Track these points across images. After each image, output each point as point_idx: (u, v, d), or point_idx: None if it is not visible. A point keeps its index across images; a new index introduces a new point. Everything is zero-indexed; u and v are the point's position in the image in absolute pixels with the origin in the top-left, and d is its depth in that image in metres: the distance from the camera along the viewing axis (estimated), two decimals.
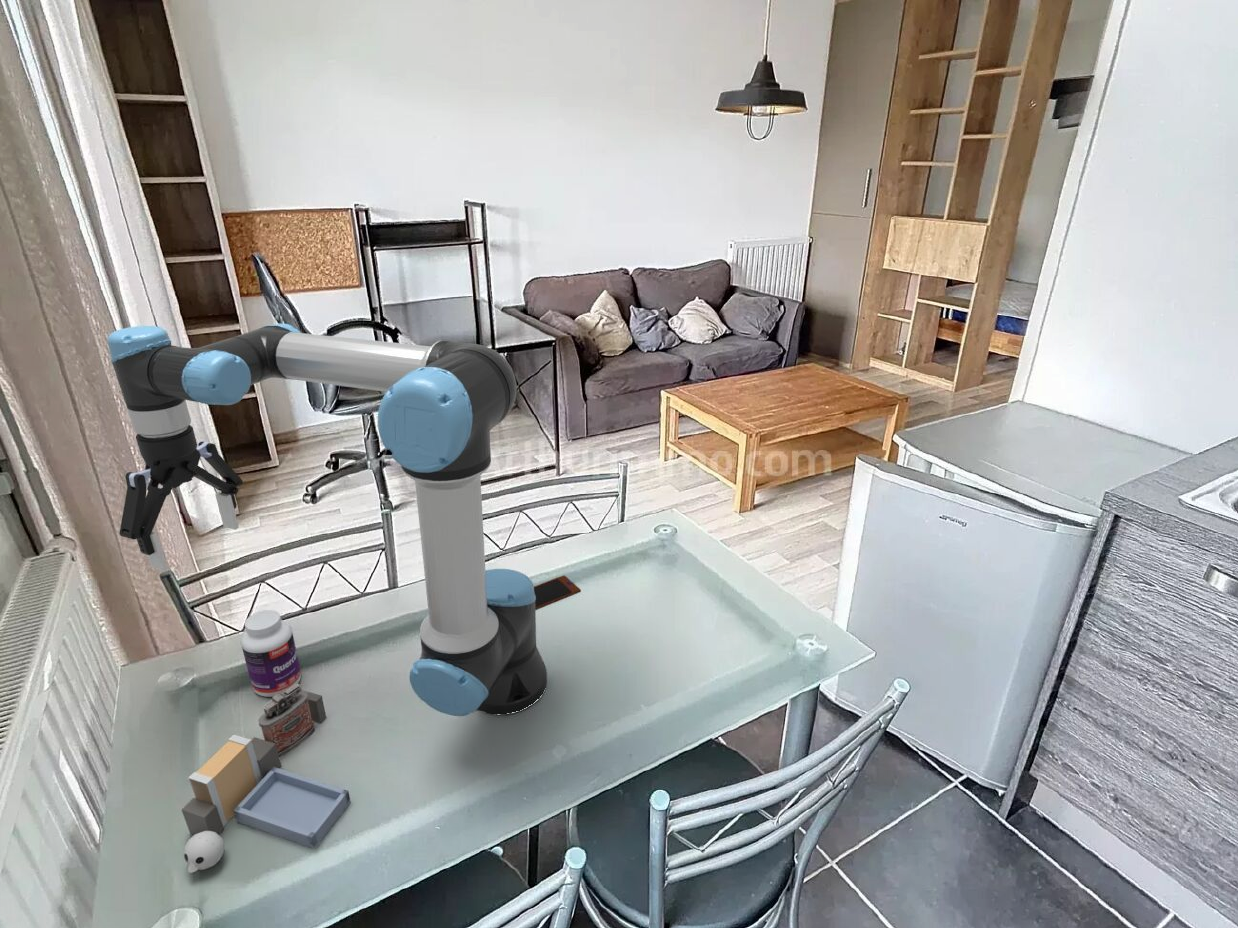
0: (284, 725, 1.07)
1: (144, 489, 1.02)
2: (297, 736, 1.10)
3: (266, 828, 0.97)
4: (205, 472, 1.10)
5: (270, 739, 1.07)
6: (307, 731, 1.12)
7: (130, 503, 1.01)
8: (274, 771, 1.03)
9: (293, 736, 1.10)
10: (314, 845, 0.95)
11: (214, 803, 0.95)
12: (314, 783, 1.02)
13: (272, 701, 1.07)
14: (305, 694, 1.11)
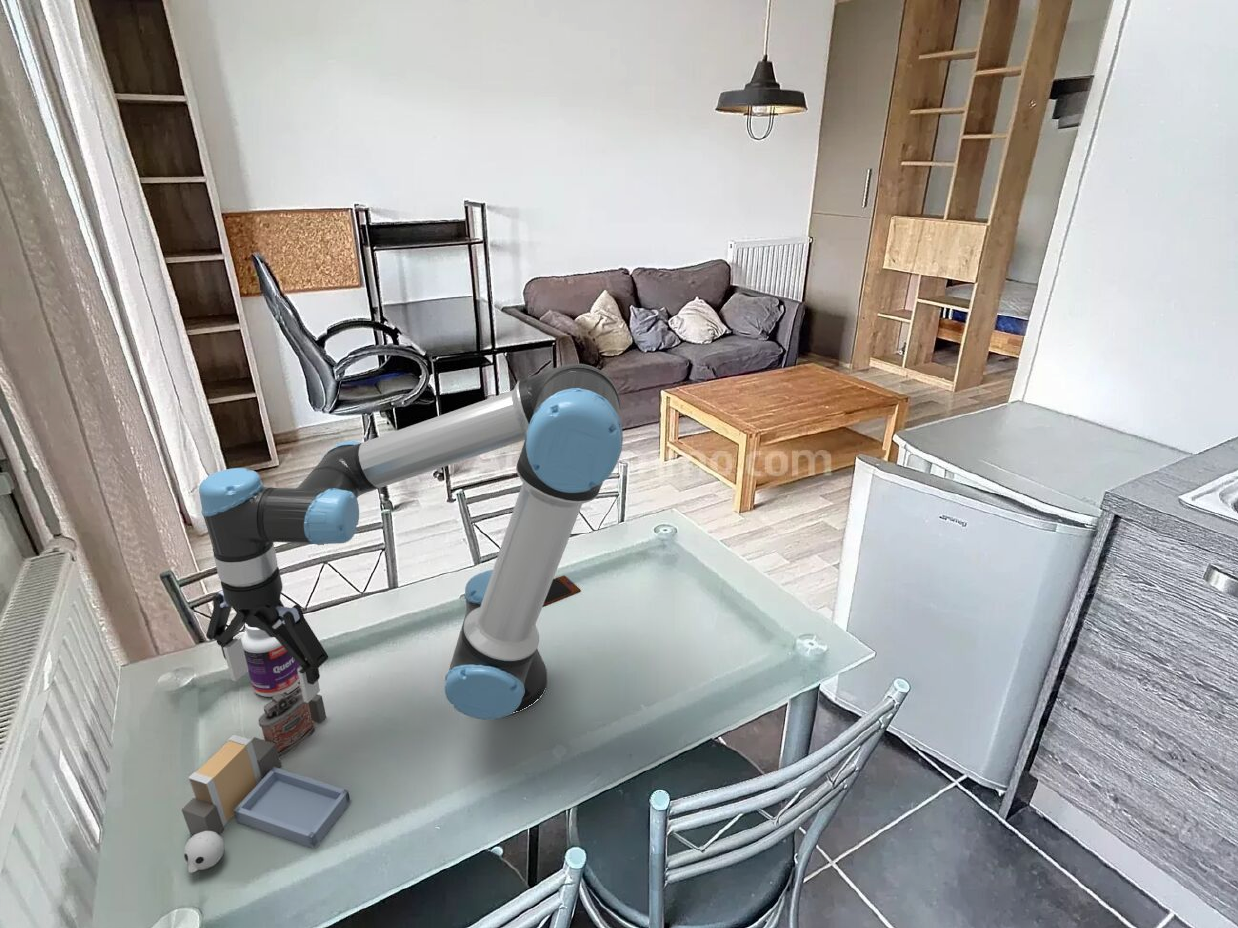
0: (284, 725, 1.07)
1: (218, 609, 1.01)
2: (297, 736, 1.10)
3: (266, 828, 0.97)
4: (272, 633, 0.99)
5: (270, 739, 1.07)
6: (307, 731, 1.12)
7: None
8: (274, 771, 1.03)
9: (293, 736, 1.10)
10: (314, 845, 0.95)
11: (214, 803, 0.95)
12: (314, 783, 1.02)
13: (272, 701, 1.07)
14: None
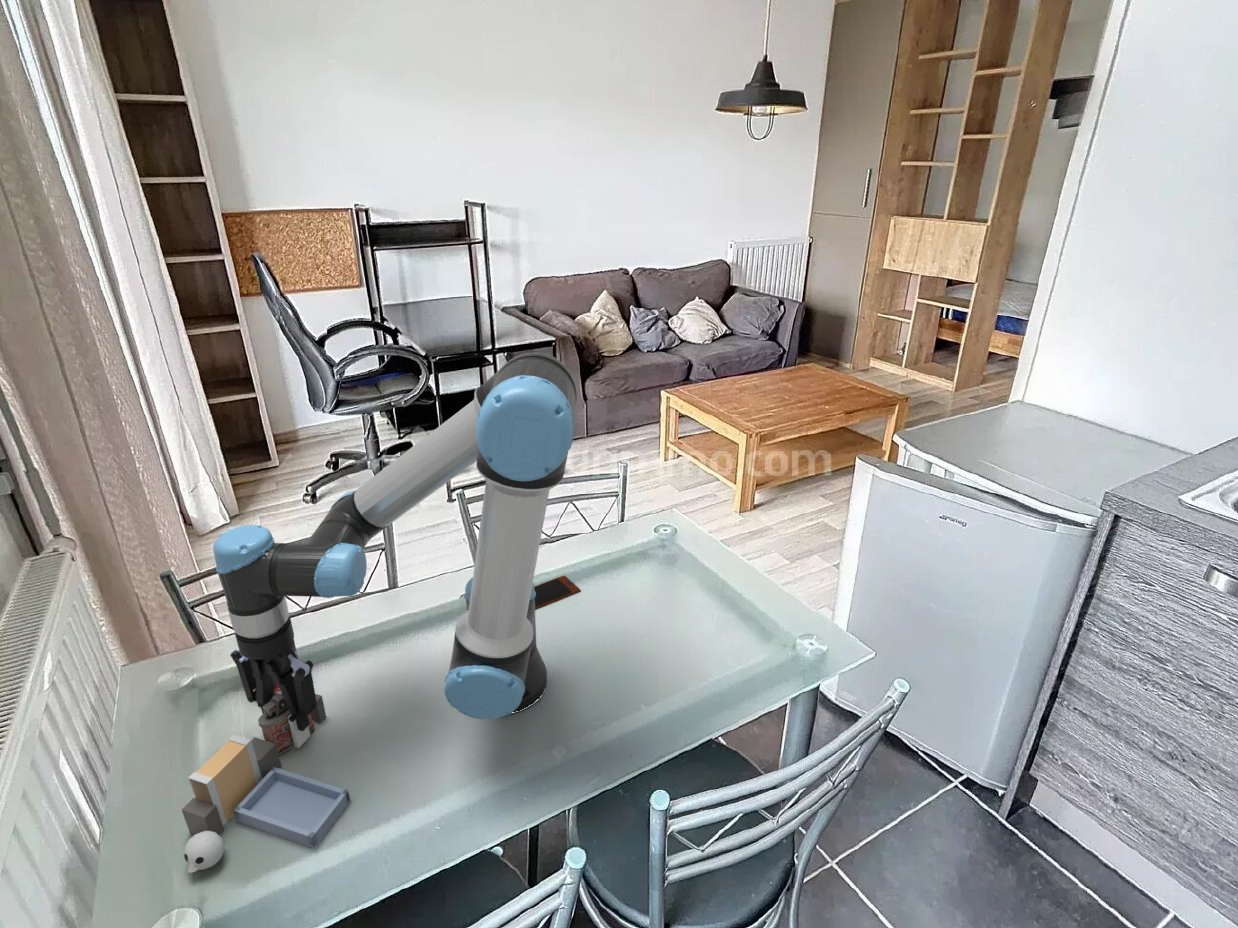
0: (284, 725, 1.07)
1: (240, 665, 1.05)
2: None
3: (266, 828, 0.97)
4: (278, 683, 1.03)
5: (270, 739, 1.07)
6: None
7: None
8: (274, 771, 1.03)
9: None
10: (314, 845, 0.95)
11: (214, 803, 0.95)
12: (314, 783, 1.02)
13: (272, 701, 1.07)
14: None
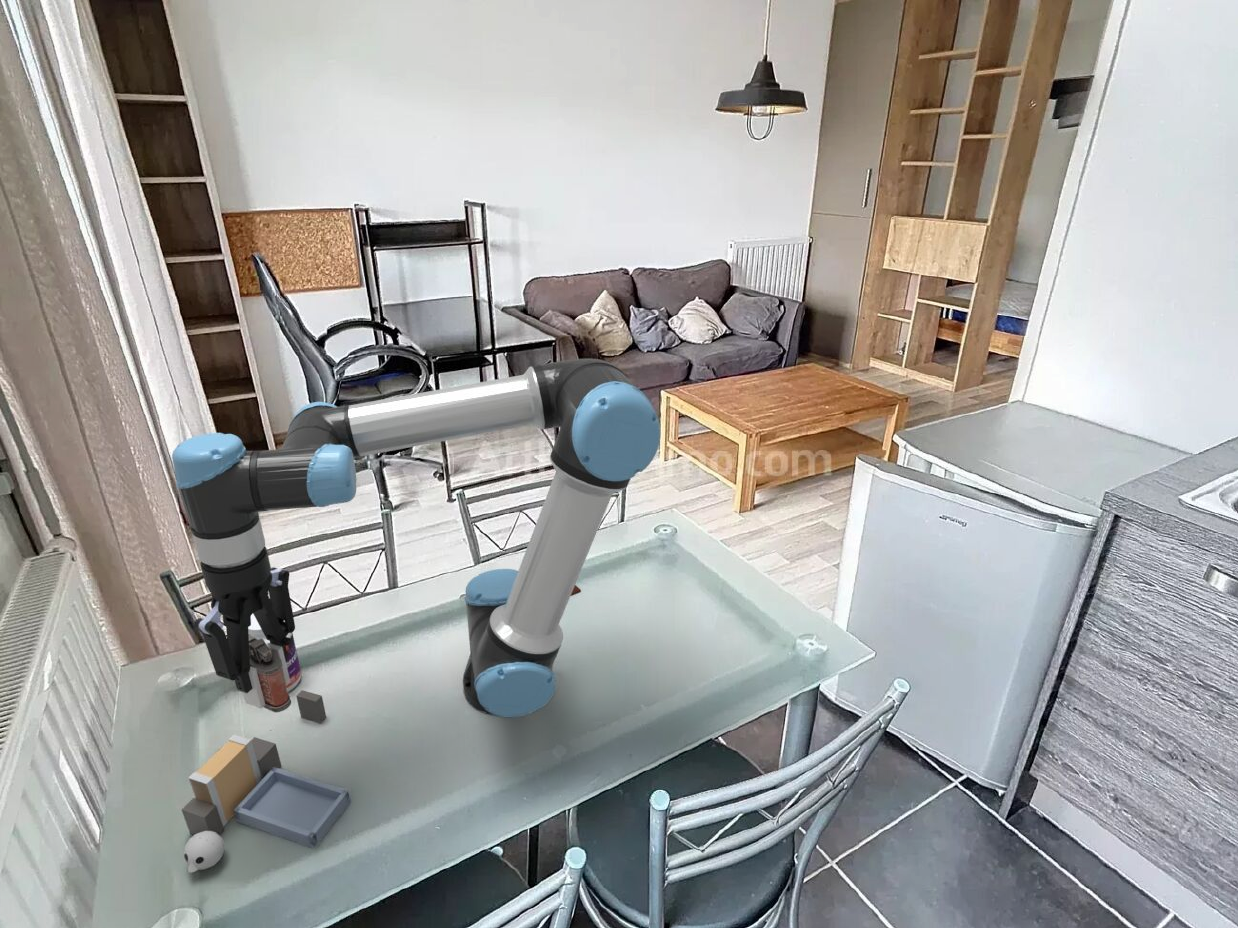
0: None
1: (222, 633, 0.85)
2: None
3: (266, 828, 0.97)
4: (271, 606, 0.92)
5: (284, 681, 0.94)
6: None
7: (214, 649, 0.86)
8: (274, 771, 1.03)
9: None
10: (314, 845, 0.95)
11: (214, 803, 0.95)
12: (314, 783, 1.02)
13: (259, 648, 0.92)
14: None
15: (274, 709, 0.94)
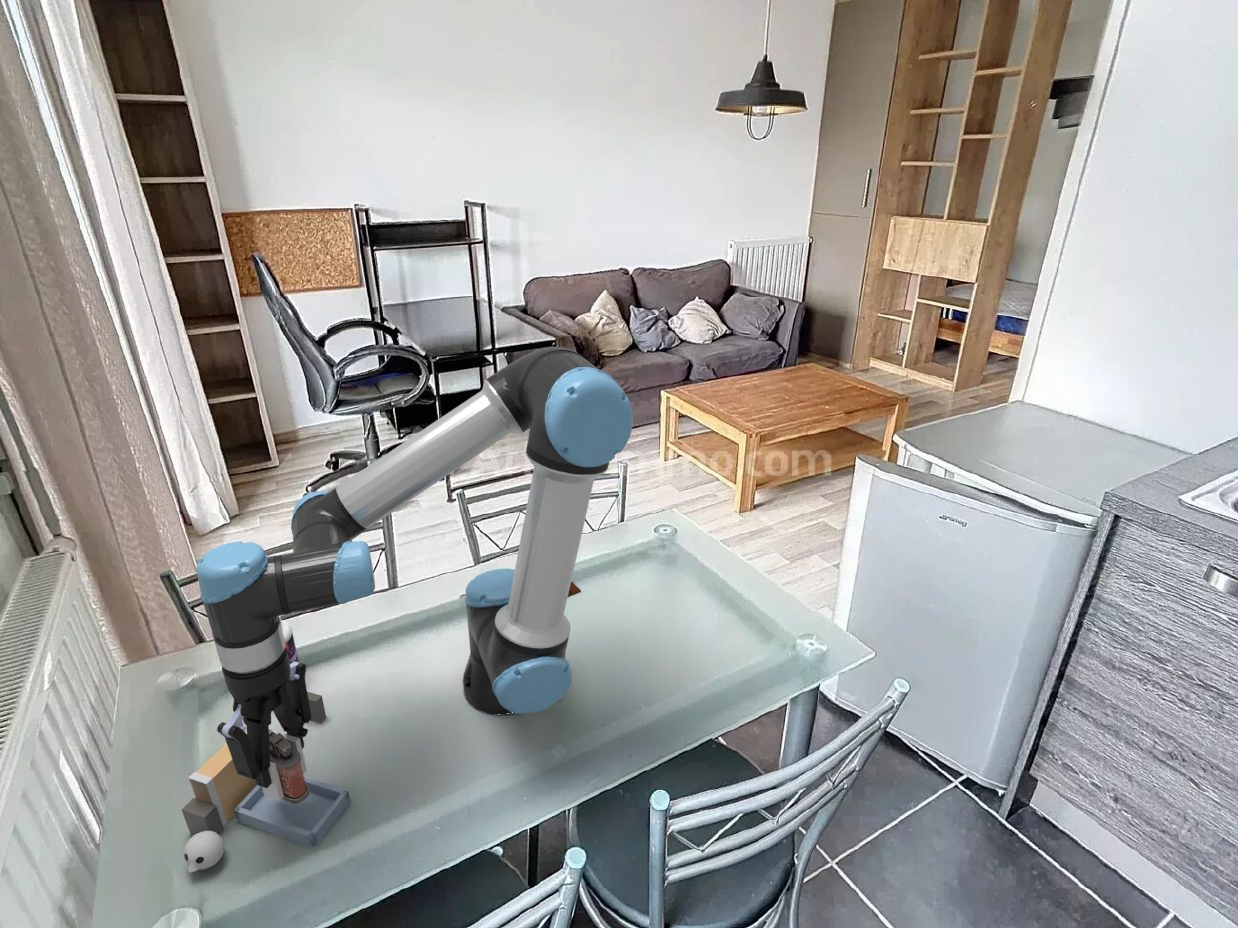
0: None
1: (244, 735, 0.86)
2: None
3: (266, 828, 0.97)
4: (289, 702, 0.93)
5: (302, 773, 0.95)
6: None
7: (236, 751, 0.87)
8: None
9: None
10: (314, 845, 0.95)
11: (214, 803, 0.95)
12: (314, 783, 1.02)
13: (278, 743, 0.93)
14: None
15: (293, 801, 0.95)
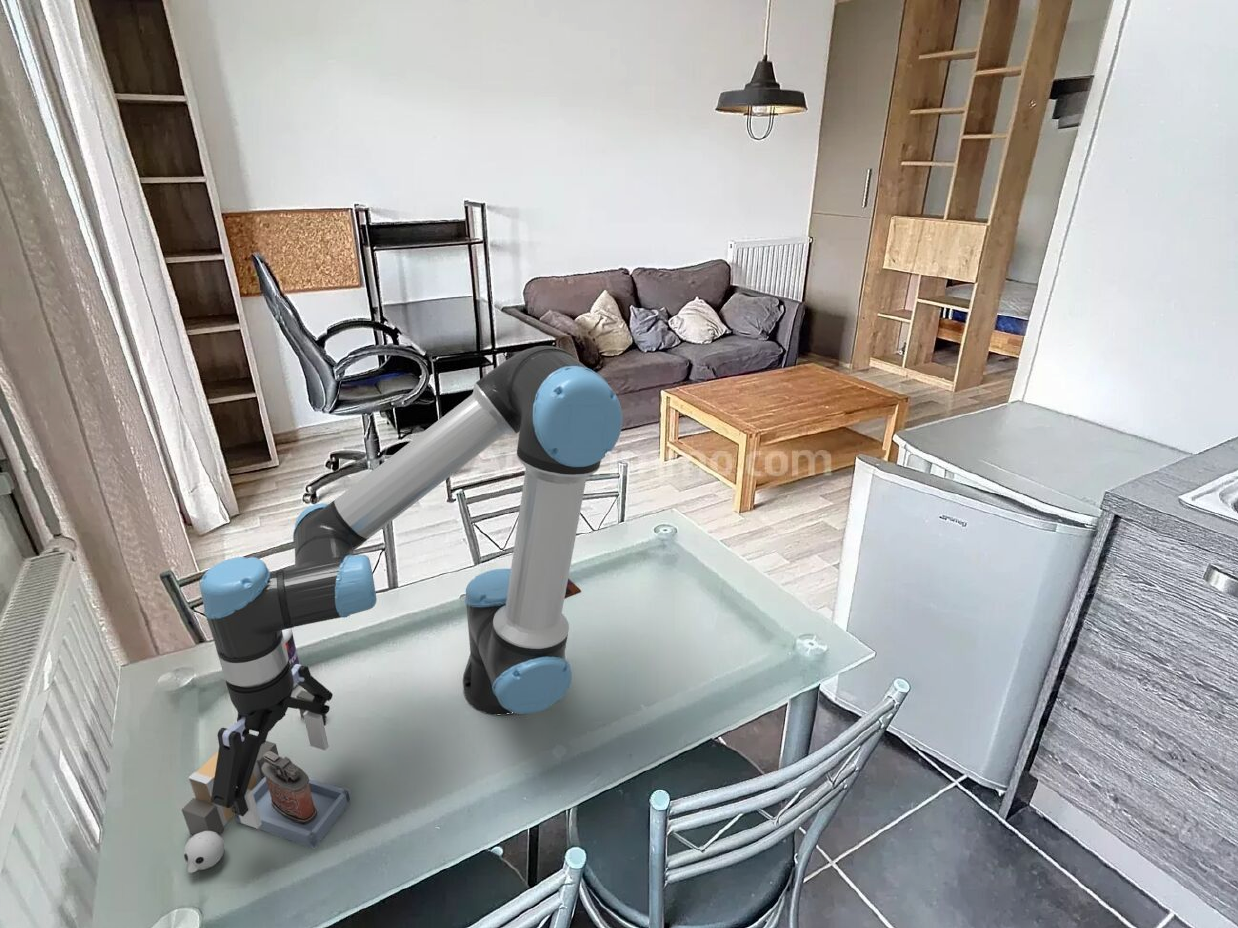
0: None
1: (240, 747, 0.86)
2: None
3: (266, 828, 0.97)
4: (299, 702, 0.95)
5: (310, 795, 0.97)
6: None
7: (224, 766, 0.85)
8: None
9: None
10: (314, 845, 0.95)
11: None
12: (314, 783, 1.02)
13: (285, 767, 0.95)
14: None
15: (302, 822, 0.97)
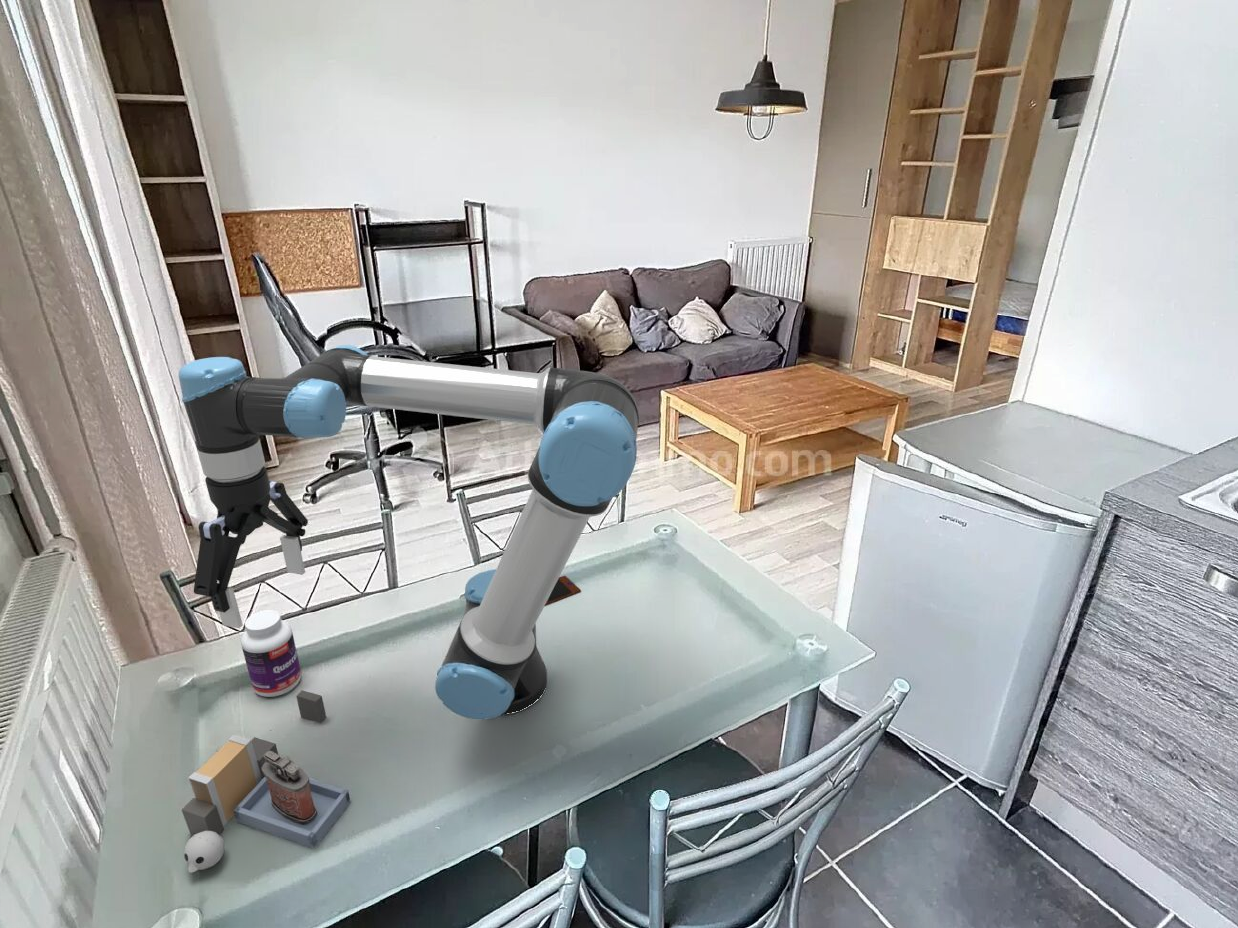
0: None
1: (220, 540, 0.91)
2: None
3: (266, 828, 0.97)
4: (276, 515, 1.00)
5: (311, 795, 0.97)
6: None
7: (206, 557, 0.90)
8: None
9: None
10: (314, 845, 0.95)
11: (214, 803, 0.95)
12: (314, 783, 1.02)
13: (286, 767, 0.95)
14: None
15: (302, 822, 0.97)
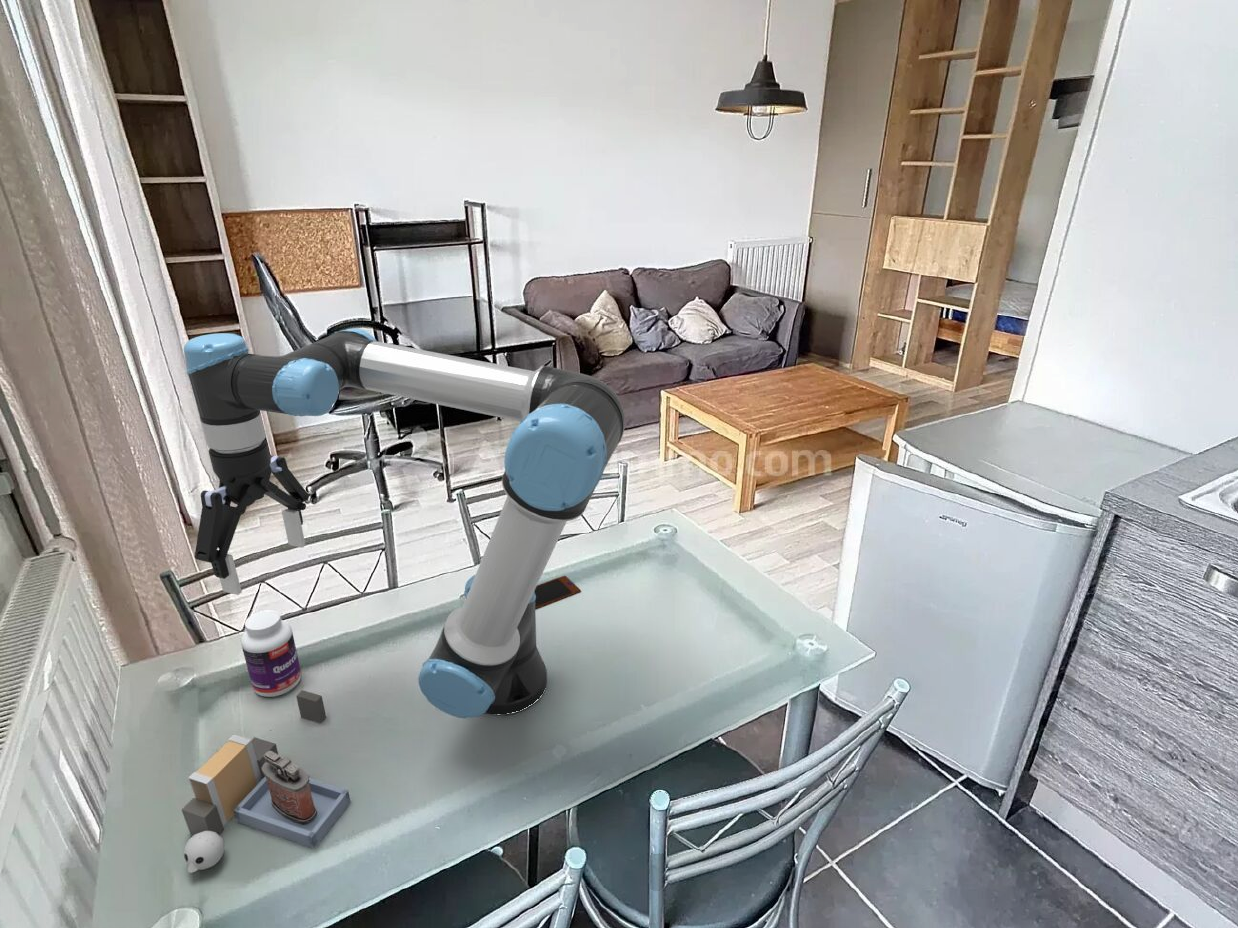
0: None
1: (221, 508, 0.95)
2: None
3: (266, 828, 0.97)
4: (276, 488, 1.04)
5: (311, 795, 0.97)
6: None
7: (206, 524, 0.94)
8: None
9: None
10: (314, 845, 0.95)
11: (214, 803, 0.95)
12: (314, 783, 1.02)
13: (286, 767, 0.95)
14: None
15: (302, 822, 0.97)
